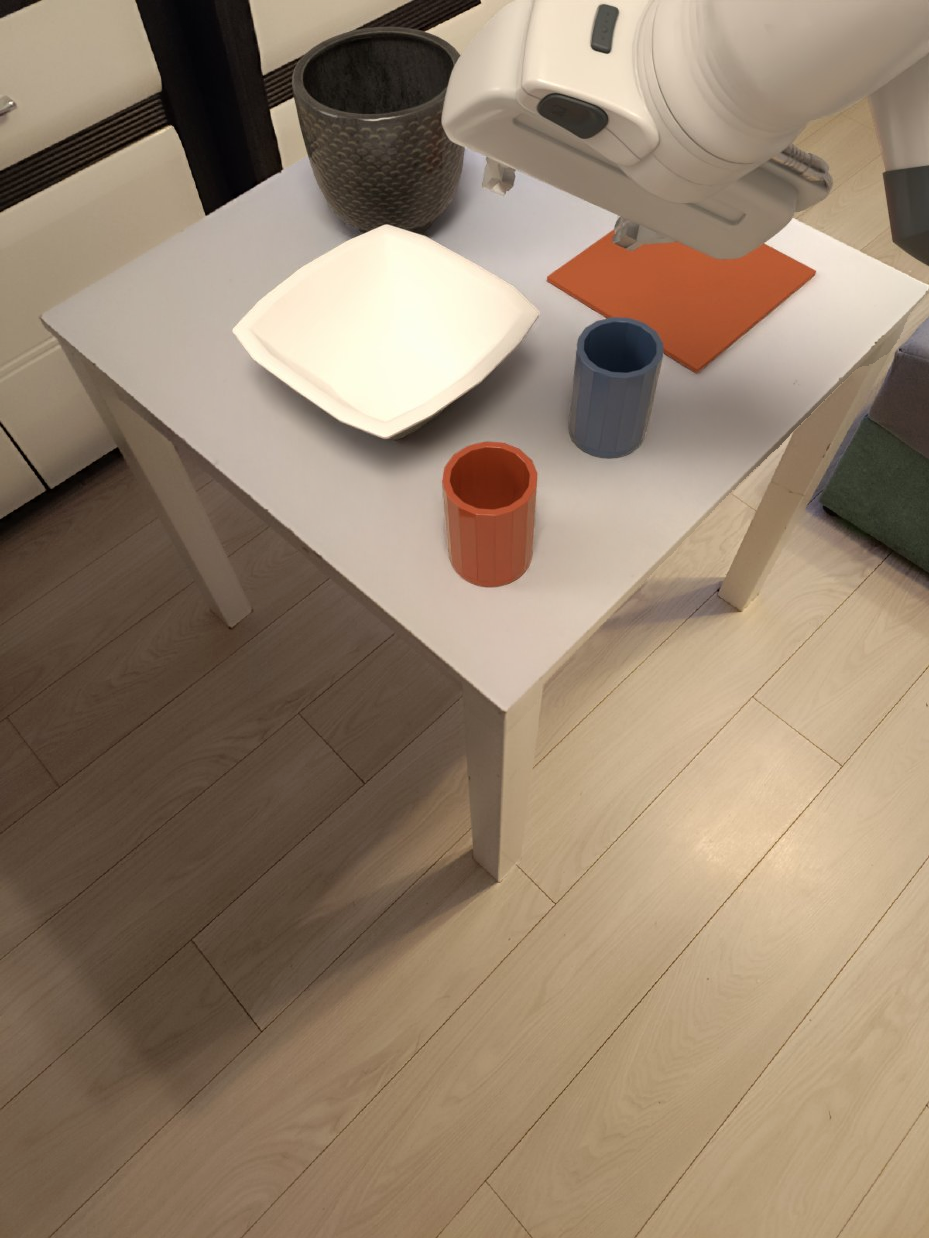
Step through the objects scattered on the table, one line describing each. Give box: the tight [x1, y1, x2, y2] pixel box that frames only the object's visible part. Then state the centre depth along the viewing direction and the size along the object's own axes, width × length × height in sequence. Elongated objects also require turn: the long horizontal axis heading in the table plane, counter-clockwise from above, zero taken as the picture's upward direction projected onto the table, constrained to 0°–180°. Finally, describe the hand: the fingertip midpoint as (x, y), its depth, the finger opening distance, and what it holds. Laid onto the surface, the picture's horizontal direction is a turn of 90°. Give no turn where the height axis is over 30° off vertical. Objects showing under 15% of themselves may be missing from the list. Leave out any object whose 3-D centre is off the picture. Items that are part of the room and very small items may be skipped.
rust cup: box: [441, 441, 539, 588], centre depth 70 cm, size 7×7×10 cm
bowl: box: [231, 225, 541, 441], centre depth 81 cm, size 22×23×8 cm
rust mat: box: [546, 229, 817, 374], centre depth 91 cm, size 20×20×1 cm
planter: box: [291, 26, 466, 235], centre depth 91 cm, size 17×17×16 cm
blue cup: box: [568, 317, 664, 459], centre depth 76 cm, size 7×7×10 cm
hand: (560, 209), depth 54 cm, fingers open, 8 cm apart
